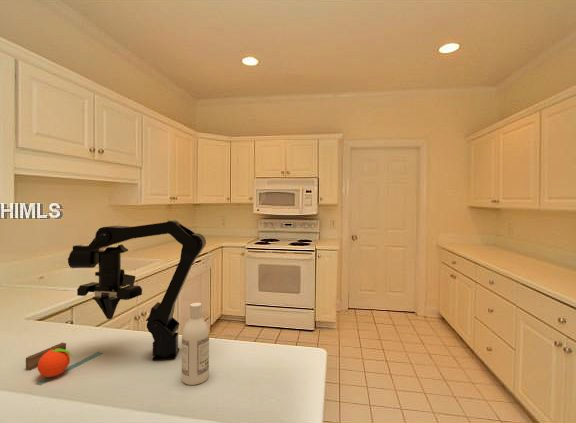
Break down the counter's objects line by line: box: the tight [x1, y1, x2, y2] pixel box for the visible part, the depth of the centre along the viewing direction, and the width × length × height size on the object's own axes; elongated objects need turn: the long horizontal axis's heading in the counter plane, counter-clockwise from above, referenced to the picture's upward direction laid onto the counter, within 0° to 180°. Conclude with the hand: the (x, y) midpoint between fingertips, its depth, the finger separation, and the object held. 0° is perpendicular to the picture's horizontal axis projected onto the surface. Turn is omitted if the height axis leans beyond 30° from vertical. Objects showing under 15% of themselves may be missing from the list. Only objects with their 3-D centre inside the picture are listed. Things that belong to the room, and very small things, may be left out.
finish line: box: [34, 351, 103, 386], centre depth 85 cm, size 2×18×1 cm, turn 163°
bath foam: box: [181, 302, 210, 386], centre depth 80 cm, size 7×7×20 cm
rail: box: [25, 342, 67, 371], centre depth 88 cm, size 2×10×4 cm, turn 163°
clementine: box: [37, 348, 73, 378], centre depth 80 cm, size 8×7×7 cm
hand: (109, 318), depth 90 cm, fingers closed
